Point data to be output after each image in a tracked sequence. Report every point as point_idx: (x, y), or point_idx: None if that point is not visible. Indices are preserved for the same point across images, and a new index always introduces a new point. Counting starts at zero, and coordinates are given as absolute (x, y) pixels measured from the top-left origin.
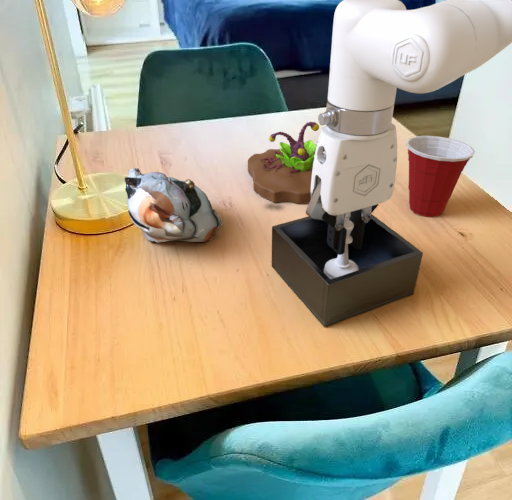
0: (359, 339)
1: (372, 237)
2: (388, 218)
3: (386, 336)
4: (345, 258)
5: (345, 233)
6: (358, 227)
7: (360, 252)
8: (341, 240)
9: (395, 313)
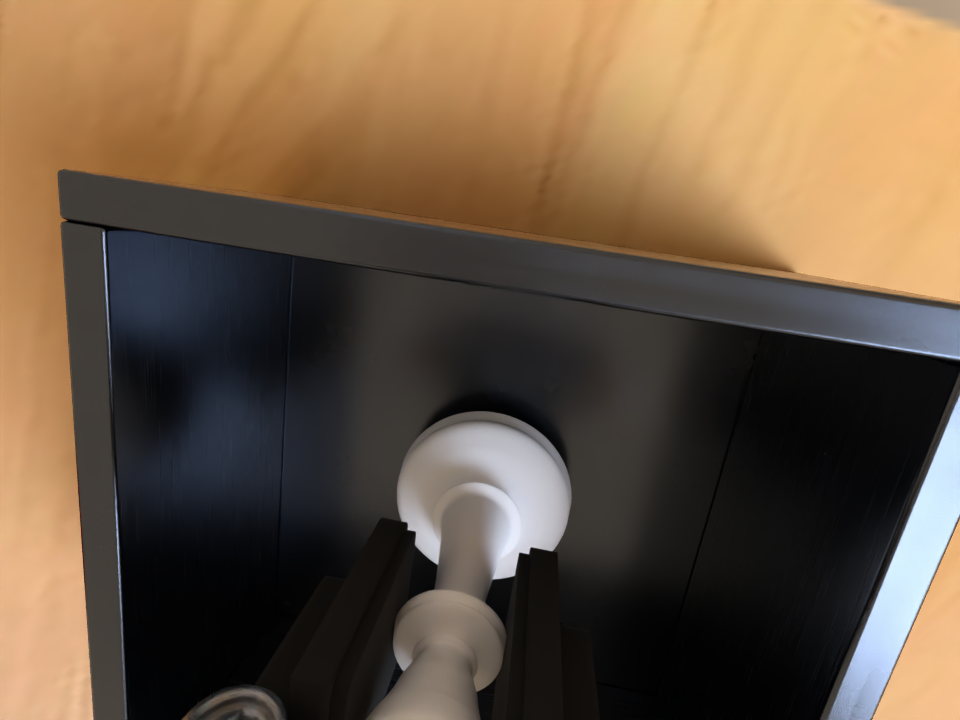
0: (729, 111)
1: (210, 563)
2: (28, 626)
3: (605, 47)
4: (477, 525)
5: (529, 693)
6: (354, 680)
7: (290, 541)
8: (559, 646)
9: (446, 148)
